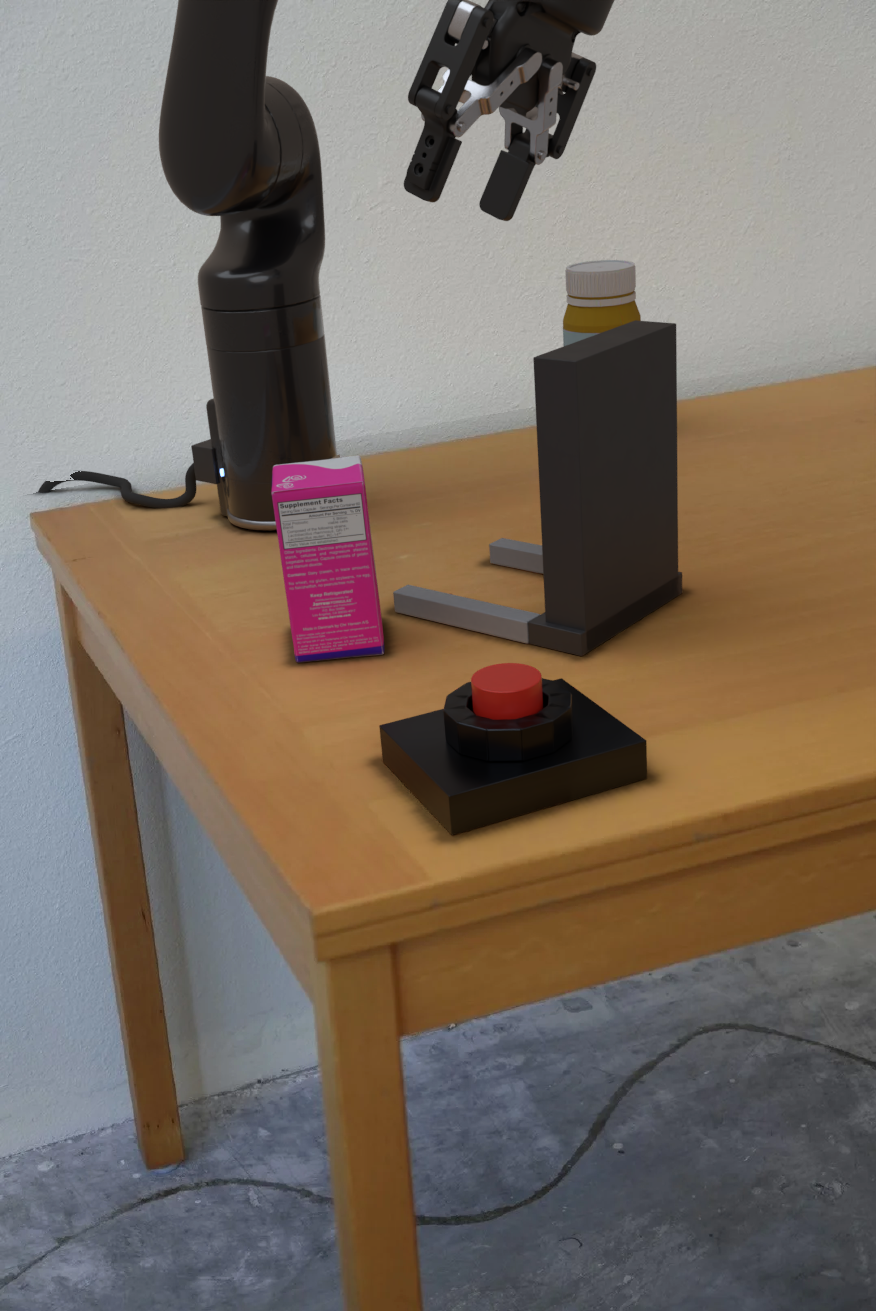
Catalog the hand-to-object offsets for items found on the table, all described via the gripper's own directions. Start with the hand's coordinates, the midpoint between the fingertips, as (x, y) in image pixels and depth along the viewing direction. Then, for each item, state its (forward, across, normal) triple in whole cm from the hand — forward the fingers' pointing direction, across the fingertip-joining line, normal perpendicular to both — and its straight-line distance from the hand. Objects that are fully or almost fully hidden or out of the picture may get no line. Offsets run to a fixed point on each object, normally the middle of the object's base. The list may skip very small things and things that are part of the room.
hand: (457, 206), depth 87 cm
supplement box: (+28, +1, +5) cm, 28 cm away
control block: (+23, +11, +23) cm, 34 cm away
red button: (+20, +12, +22) cm, 32 cm away
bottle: (+17, -48, -6) cm, 52 cm away
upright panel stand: (+21, -10, +12) cm, 26 cm away
